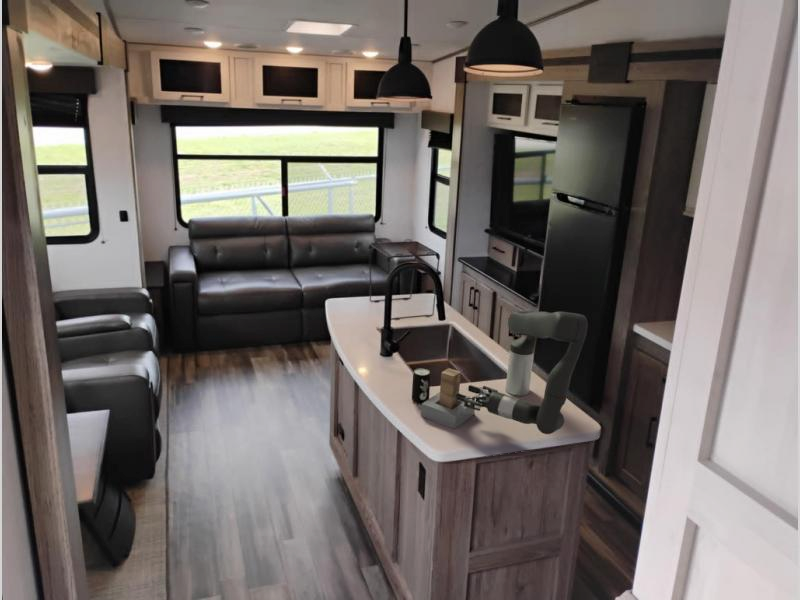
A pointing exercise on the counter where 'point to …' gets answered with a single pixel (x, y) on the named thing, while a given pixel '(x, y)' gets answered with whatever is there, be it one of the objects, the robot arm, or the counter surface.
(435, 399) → the well block
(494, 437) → the counter surface
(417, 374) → the beverage can
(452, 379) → the tall wooden block
